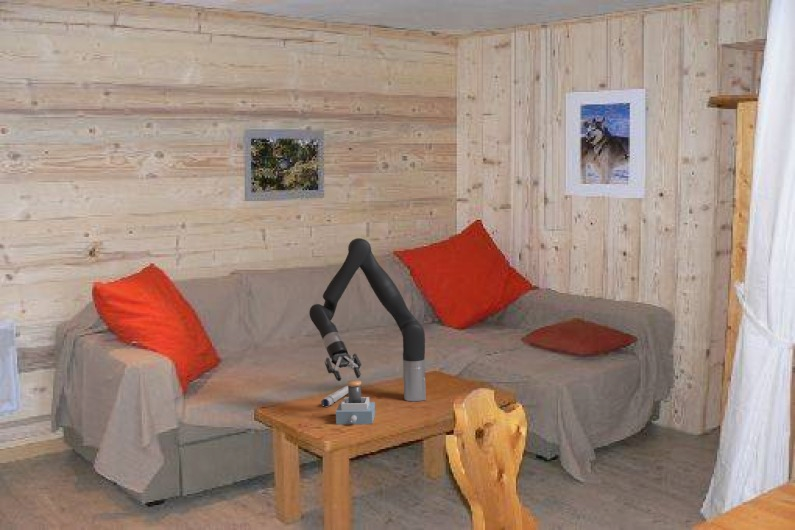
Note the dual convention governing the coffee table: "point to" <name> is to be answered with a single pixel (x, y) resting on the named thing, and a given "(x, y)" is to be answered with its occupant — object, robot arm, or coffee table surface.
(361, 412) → the blue knob tray
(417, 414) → the coffee table surface
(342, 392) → the grey flanged rod
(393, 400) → the coffee table surface
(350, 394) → the dark grey lidded jar
